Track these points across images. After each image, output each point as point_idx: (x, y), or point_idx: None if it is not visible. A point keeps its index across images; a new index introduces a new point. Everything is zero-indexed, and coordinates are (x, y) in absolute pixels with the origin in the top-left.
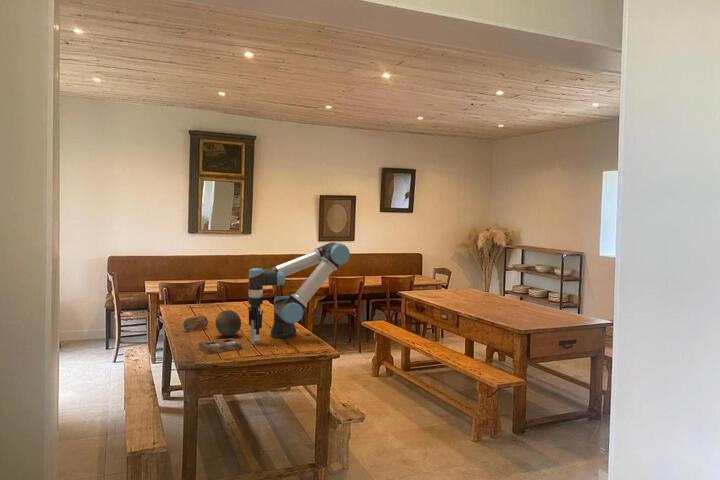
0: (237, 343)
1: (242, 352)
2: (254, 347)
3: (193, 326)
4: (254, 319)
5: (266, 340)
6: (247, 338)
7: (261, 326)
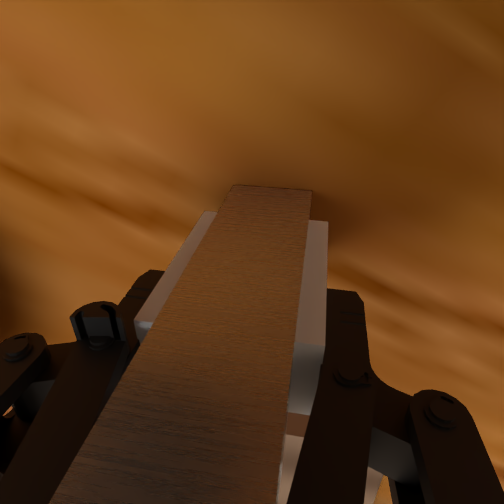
0: (371, 471)
1: (491, 446)
2: (428, 312)
3: None
4: None
5: (206, 6)
6: (18, 174)
7: (473, 437)
